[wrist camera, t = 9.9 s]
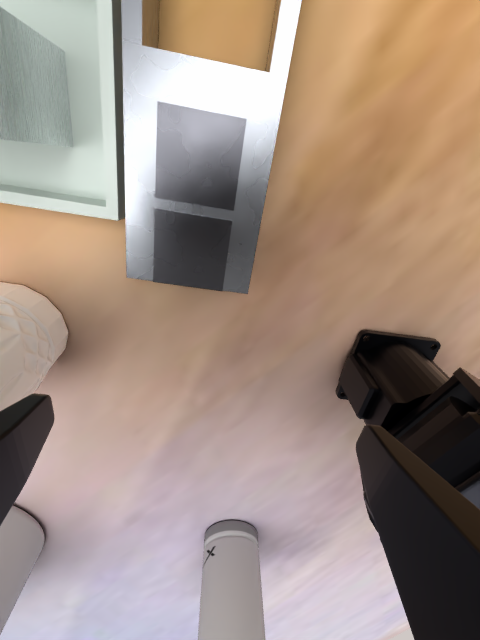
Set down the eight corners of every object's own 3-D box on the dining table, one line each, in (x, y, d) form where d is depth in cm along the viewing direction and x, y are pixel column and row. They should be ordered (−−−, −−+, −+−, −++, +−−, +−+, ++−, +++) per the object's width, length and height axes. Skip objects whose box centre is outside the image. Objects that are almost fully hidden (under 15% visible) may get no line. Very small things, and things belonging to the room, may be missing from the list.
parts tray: (130, -15, 13) (110, -52, 11) (132, 213, 18) (118, 220, 16) (-112, -71, 12) (-190, -125, 10) (-45, 185, 17) (-88, 188, 15)
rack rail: (333, -227, 11) (367, -356, 8) (245, 277, 20) (247, 294, 17) (142, -289, 10) (111, -454, 8) (140, 262, 19) (125, 278, 17)
